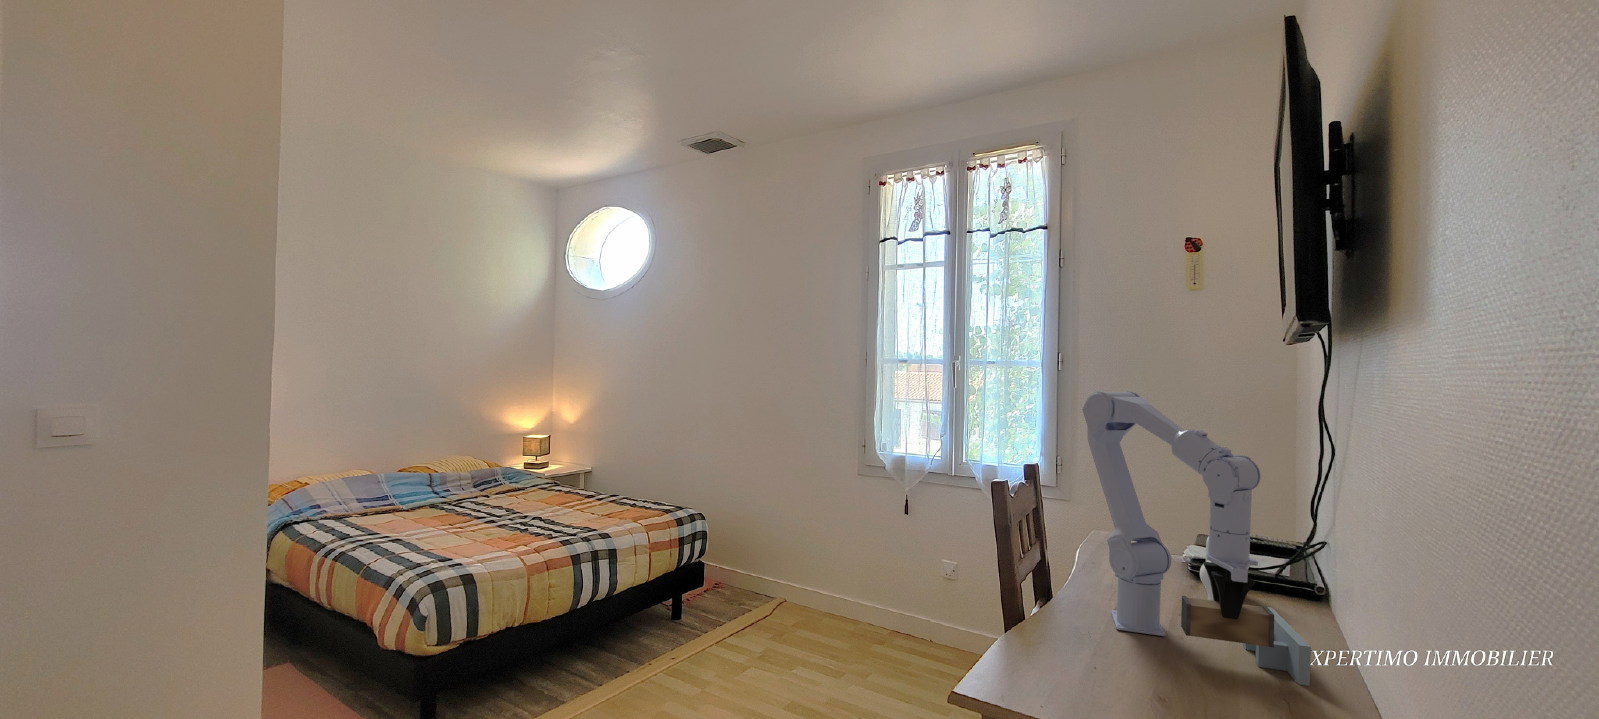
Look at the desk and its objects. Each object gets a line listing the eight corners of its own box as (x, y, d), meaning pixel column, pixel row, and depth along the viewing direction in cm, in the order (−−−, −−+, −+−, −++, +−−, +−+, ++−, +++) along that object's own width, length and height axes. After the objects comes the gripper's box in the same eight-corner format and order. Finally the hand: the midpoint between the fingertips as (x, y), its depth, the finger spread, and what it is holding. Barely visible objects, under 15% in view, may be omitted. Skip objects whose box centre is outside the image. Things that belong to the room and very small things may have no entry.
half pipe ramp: (1186, 635, 111) (1186, 603, 111) (1181, 625, 115) (1181, 595, 115) (1273, 647, 107) (1274, 614, 107) (1265, 637, 111) (1266, 605, 111)
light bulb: (1224, 609, 137) (1226, 554, 137) (1245, 622, 130) (1247, 564, 130) (1191, 608, 137) (1193, 553, 137) (1210, 620, 130) (1212, 563, 130)
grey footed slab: (1235, 636, 123) (1236, 603, 123) (1270, 641, 121) (1271, 607, 121) (1267, 679, 106) (1269, 640, 106) (1309, 685, 104) (1310, 646, 104)
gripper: (1272, 544, 103) (1268, 633, 103) (1245, 523, 117) (1242, 602, 117) (1218, 538, 106) (1215, 625, 106) (1198, 518, 119) (1195, 595, 119)
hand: (1226, 613), depth 111 cm, fingers closed on half pipe ramp, 4 cm apart
